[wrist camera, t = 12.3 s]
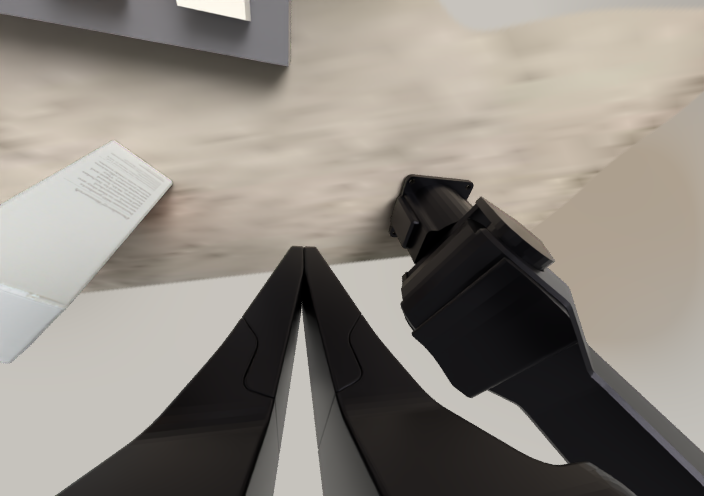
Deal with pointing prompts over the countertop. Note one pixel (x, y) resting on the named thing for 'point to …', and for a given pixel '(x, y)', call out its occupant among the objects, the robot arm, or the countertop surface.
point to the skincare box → (67, 237)
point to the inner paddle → (220, 7)
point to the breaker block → (173, 24)
